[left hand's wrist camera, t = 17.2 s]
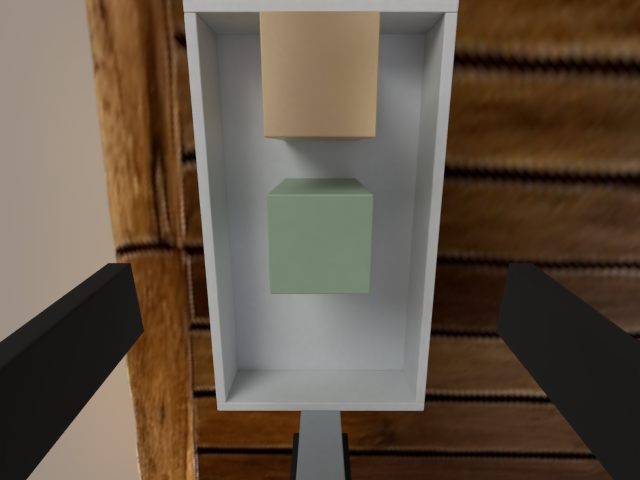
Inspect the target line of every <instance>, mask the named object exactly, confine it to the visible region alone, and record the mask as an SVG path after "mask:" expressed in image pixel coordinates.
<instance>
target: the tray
mask: <svg viewBox="0 0 640 480" xmlns="http://www.w3.org/2000/svg"><path fill="white" fill-rule="evenodd" d="M458 4H459V0H183V7H184V18H185V30H186V42H187V53H188V65H189V77H190V89H191V101H192V113H193V124H194V136H195V148H196V160H197V172H198V183H199V195H200V207H201V219H202V231H203V243H204V254H205V266H206V278H207V290H208V302H209V314H210V325H211V337H212V349H213V361H214V373H215V385H216V396H217V408H218V410H244V411H301V420H300V434H299V447H298V460H297V474H296V480H345V471H344V458H343V444H342V430H341V417H340V411H423V410H424V401H425V389H426V377H427V366H428V354H429V342H430V330H431V319H432V307H433V295H434V284H435V272H436V260H437V248H438V237H439V225H440V213H441V202H442V190H443V178H444V166H445V155H446V143H447V131H448V119H449V108H450V96H451V84H452V73H453V61H454V49H455V37H456V26H457V12H458ZM261 11H379V12H380V13H381V15H380V41H379V68H378V95H377V121H376V137H374V138H369V139H363V140H358V141H282V140H277V139H271V138H266V137H264V124H263V97H262V71H261V44H260V18H259V13H260V12H261ZM285 178H355V179H357V180H358V181H359V182H360V183H361V184H362V185H363V186H364V187H365V188H367V189H368V190H369V191H370V192H371V193H372V194H373V195H374V206H373V233H372V259H371V286H370V294H271V293H270V275H269V248H268V222H267V194H268V193H269V192H271V191H272V190H273V189H274V188H275V187H276V186H277V185H278V184H280V183H281V182H282V181H283V180H284V179H285Z"/></svg>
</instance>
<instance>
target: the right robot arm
mask: <svg viewBox="0 0 640 480" xmlns="http://www.w3.org/2000/svg"><path fill="white" fill-rule="evenodd" d="M299 434H300V433H294V438H293V450H292V462H291V474H290V480H296V474H297V460H298V447H299ZM342 444H343V458H344V471H345V480H351V472H350V459H349V447H348V435H347V433H342Z"/></svg>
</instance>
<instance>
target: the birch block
mask: <svg viewBox="0 0 640 480" xmlns="http://www.w3.org/2000/svg"><path fill="white" fill-rule="evenodd" d="M380 15H381V13H380V12H379V11H261V12H260V13H259V18H260V44H261V71H262V97H263V124H264V137H266V138H271V139H277V140H282V141H358V140H363V139H369V138H374V137H376V121H377V95H378V68H379V41H380Z"/></svg>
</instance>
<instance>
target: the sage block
mask: <svg viewBox="0 0 640 480" xmlns="http://www.w3.org/2000/svg"><path fill="white" fill-rule="evenodd" d="M373 206H374V195H373V194H372V193H371V192H370V191H369V190H368V189H367V188H365V187H364V186H363V185H362V184H361V183H360V182H359V181H358V180H357V179H355V178H285V179H284V180H283V181H282V182H281V183H280V184H278V185H277V186H276V187H275V188H274V189H273V190H272V191H271V192H269V193H268V194H267V222H268V248H269V275H270V293H271V294H370V286H371V259H372V233H373Z"/></svg>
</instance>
